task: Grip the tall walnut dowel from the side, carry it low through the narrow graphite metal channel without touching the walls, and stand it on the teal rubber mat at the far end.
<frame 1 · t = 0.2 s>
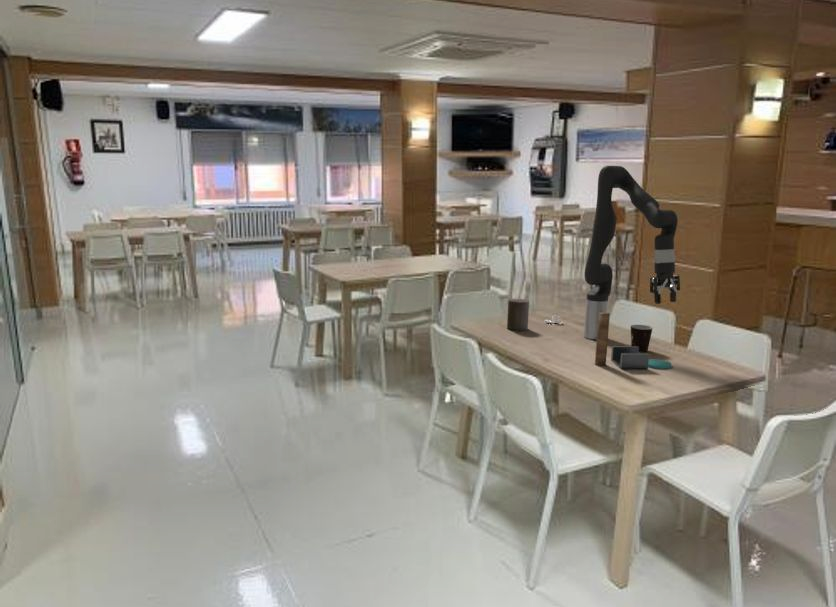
hand: (665, 302, 250), 22 cm above the table, tool pointing down, fingers open, 8 cm apart
coffee mug: (638, 351, 264), on the table
teal mat: (657, 365, 245), on the table
walnut dowel: (600, 364, 244), on the table
pillar candle: (517, 329, 300), on the table
teacup and saucer: (552, 323, 315), on the table
metal channel: (628, 365, 244), on the table
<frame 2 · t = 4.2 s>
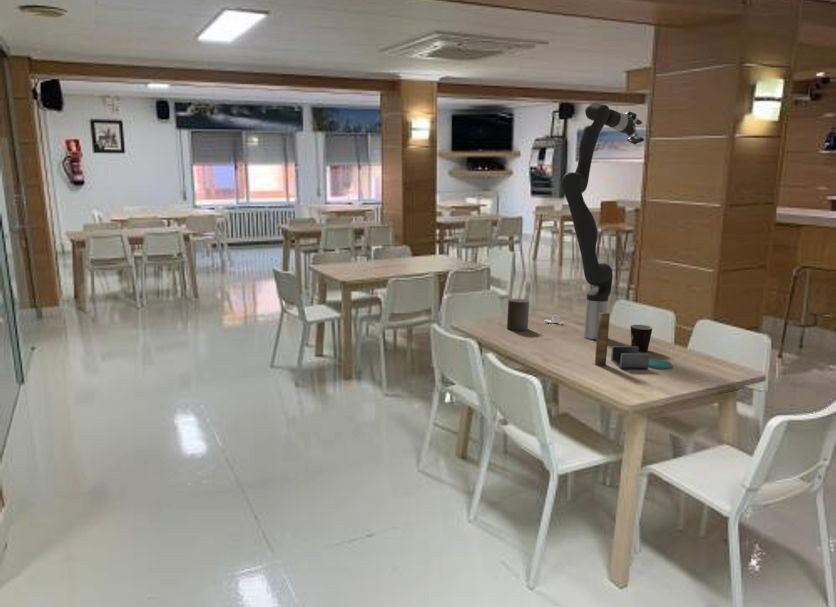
hand: (641, 132, 296), 91 cm above the table, tool horizontal, fingers open, 8 cm apart
nothing on the table moved.
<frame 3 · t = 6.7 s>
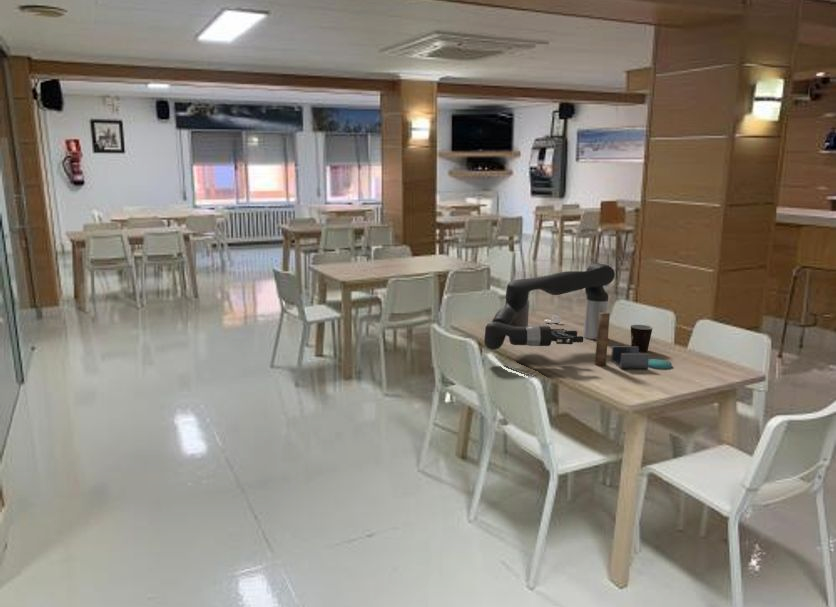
hand: (579, 336, 242), 11 cm above the table, tool horizontal, fingers open, 8 cm apart
nothing on the table moved.
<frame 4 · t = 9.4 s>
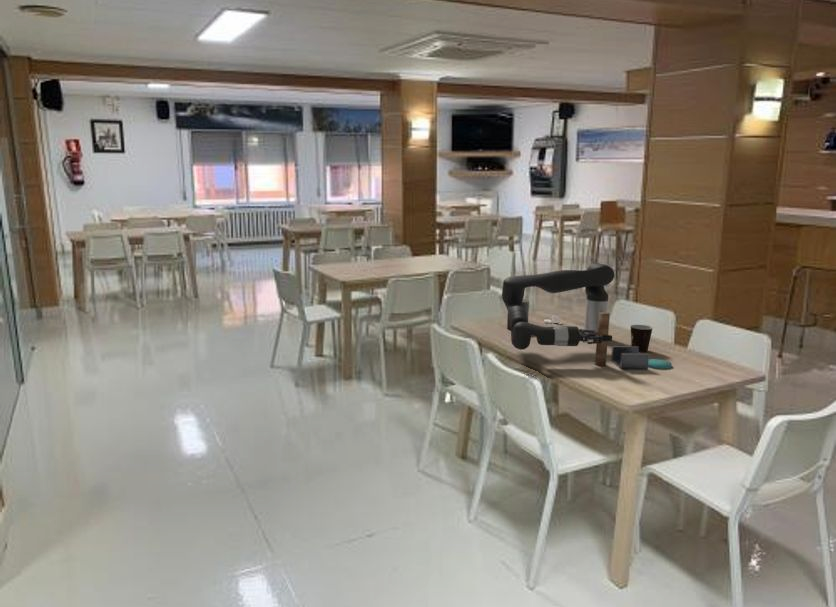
hand: (609, 336, 242), 11 cm above the table, tool horizontal, fingers closed on walnut dowel, 4 cm apart
walnut dowel: (600, 364, 244), on the table, touching gripper
everything else where it was.
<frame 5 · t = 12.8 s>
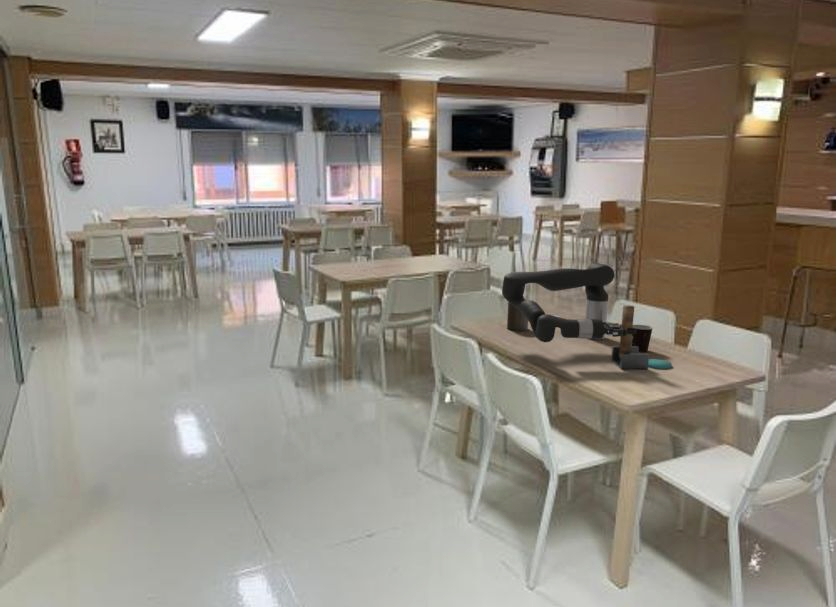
hand: (633, 329, 242), 14 cm above the table, tool horizontal, fingers closed on walnut dowel, 4 cm apart
walnut dowel: (624, 357, 244), point 3 cm above the table, touching gripper
everything else where it was.
when the fingers open (13 cm above the table, at t = 16.5 s): walnut dowel stays where it is, resting on teal mat.
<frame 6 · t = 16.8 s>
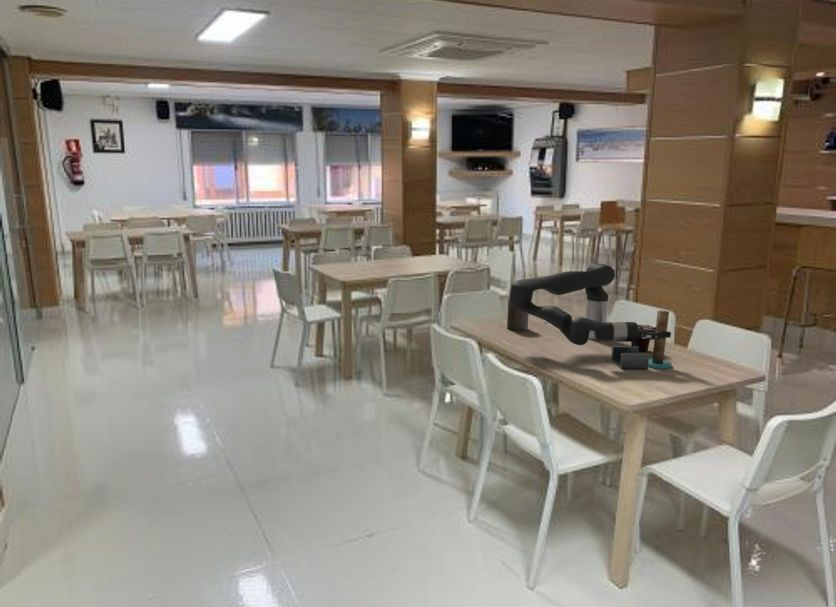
hand: (666, 332, 242), 13 cm above the table, tool horizontal, fingers open, 6 cm apart
walnut dowel: (657, 362, 244), point 1 cm above the table, touching teal mat
everything else where it was.
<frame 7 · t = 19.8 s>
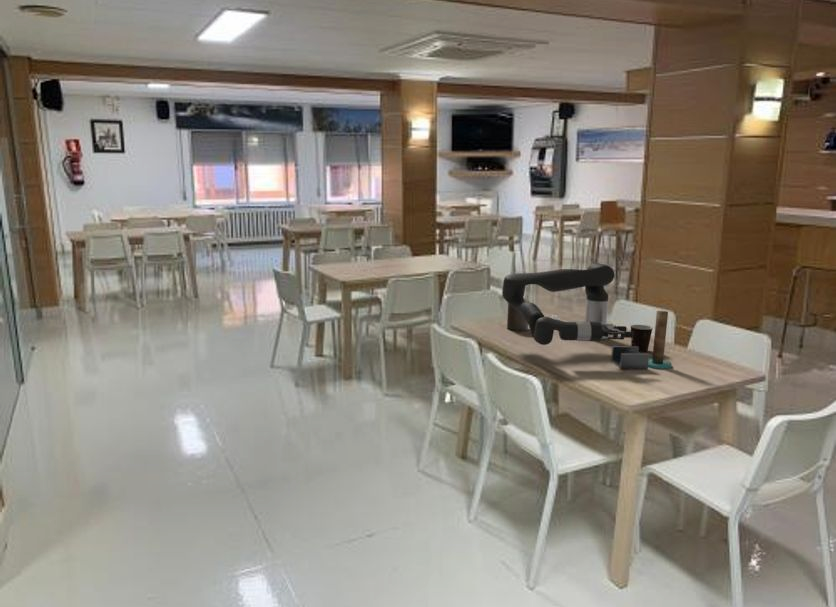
hand: (629, 331, 242), 13 cm above the table, tool horizontal, fingers open, 8 cm apart
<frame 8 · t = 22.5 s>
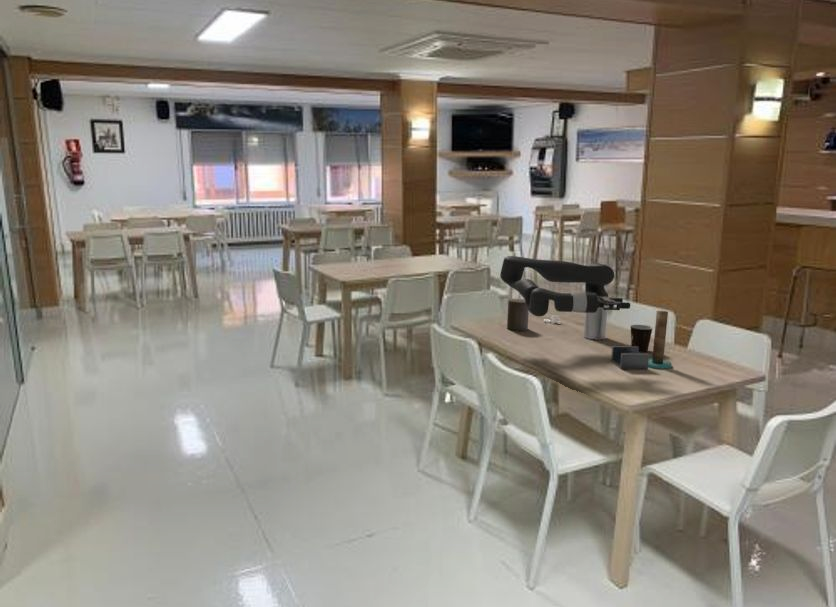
hand: (626, 303, 240), 24 cm above the table, tool horizontal, fingers open, 8 cm apart
at the end: walnut dowel 0.1 cm off-centre on the teal mat, point 1.0 cm above the teal mat's base; walnut dowel tilted 0°; metal channel moved 0.2 cm from its start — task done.
